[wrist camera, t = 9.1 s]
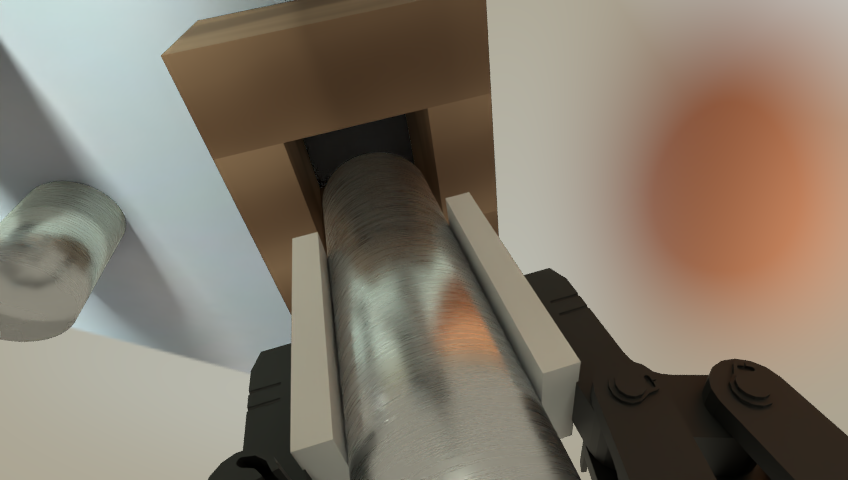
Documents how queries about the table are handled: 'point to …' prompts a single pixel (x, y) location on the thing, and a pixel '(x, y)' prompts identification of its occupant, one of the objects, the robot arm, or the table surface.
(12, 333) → the pin short
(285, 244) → the hole block
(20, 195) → the table surface
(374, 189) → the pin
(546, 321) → the robot arm
